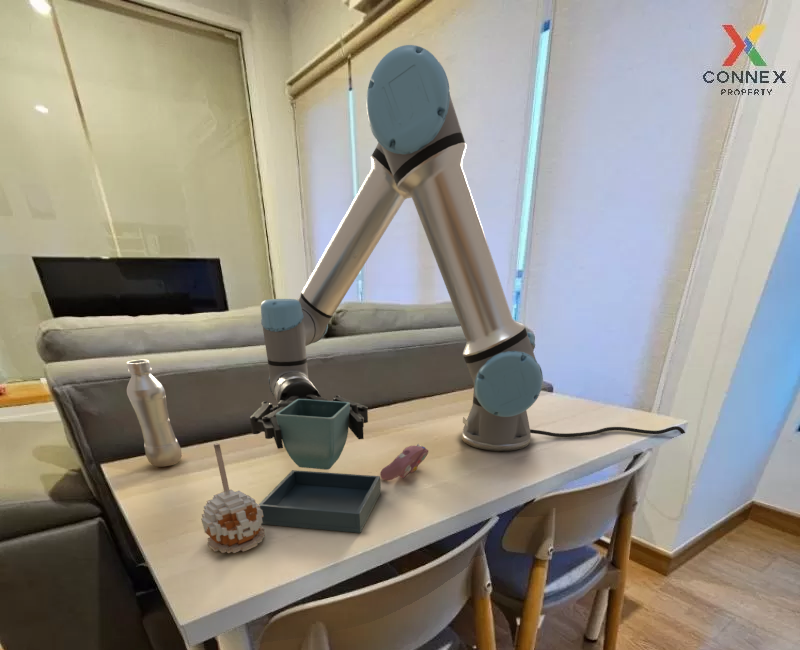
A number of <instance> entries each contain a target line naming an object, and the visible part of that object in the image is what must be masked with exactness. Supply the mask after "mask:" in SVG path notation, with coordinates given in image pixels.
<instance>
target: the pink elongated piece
mask: <svg viewBox="0 0 800 650" xmlns="http://www.w3.org/2000/svg"><path fill="white" fill-rule="evenodd" d="M428 454H429V449H428V448H426V447H425V446H423V445H420V444H419V443H417V444H416V445H409V446H407V447H405V448H404V449H403V450H402V452H401V453H400V454H398V455H397V456H396V457H395V458H394V459H393V460H392V461H391V462H390V463H389V464H388V465H386V466H384V467H383V468H382V469H381V471H380V473H379V476H380V479H382V480H383V481H391V480H395V479H396V478H398V477H400V478H401V479H405V478H406V477H407V475H409V473H411V474H412V473H414V472H415V471H417V469H418V467H419V466H420V464H421V463H422V462H424V460H425V459H426V457H428Z"/></svg>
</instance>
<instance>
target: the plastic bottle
mask: <svg viewBox="0 0 800 650" xmlns="http://www.w3.org/2000/svg"><path fill="white" fill-rule="evenodd" d="M126 365H127V368H128V371H127V372H128V374H130V375H131V376H130V379H129V381H128V383H127V387H126V395H127V397H128V399H129V403H130V404H131V406H132V409H133V410H134V413H135V415H136V418H137V420H138V423H139V427H140V429H141V434H142V439H143V443H144V445H143V447H144V453H145V458H146V460H147V461H148V462H149V464H151V465H152V466H153V467H157V468H161V467H162V468H163V467H170V466H173V465H176V464H178V463H179V462H180V461H181V459H182V457H183V456H182V448H181V445H180V443H179V441H178V439H177V437H176V434H175V431H174V429H173V426H172V424H171V419H170V415H169V410H168V403H167V396H166V389H165V387H164V386H163V384H162V383H161V382H160V381H159V380H158V379H157V378H156V377H155V376H154V375H153V374H152V372H153V369H152V366H151V363H150V361H149V360H148V359H135V360H130V361H127V362H126Z"/></svg>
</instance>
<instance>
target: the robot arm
mask: <svg viewBox="0 0 800 650" xmlns="http://www.w3.org/2000/svg"><path fill="white" fill-rule="evenodd" d="M450 93H451V92H450V84H449V78H448V76H447V73H446V70H445V69H444V67H443V65H442V63H441V62H440V61H439V60H438V59H437V57H435V55H434V54H433V53H431V52H430V51H429V50H428V49H426V48H424V47H423V46H419V45H415V44H405V45H401V46H398V47H395V48H393V49H392V50H390V51H389V52H388V53H385V55H384V56H383V57H382V58H381V59H380V60H379V62H378V63H377V64H376V66H375V68H374V70H373V72H372V74H371V76H370V80H369V81H368V86H367V91H366V101H365V102H366V105H365V106H366V114H367V120H368V124H369V128H370V130H371V133H372V135H373V137H374V139H376V141H377V144H376V146H375V148H374V150H373V152H372V154H371V155H370V163H371V167H370V170H369V171H368V174H367V175H366V177H365V179H364V181H363V182H362V184H361V186H360V188H359V190H358V192H357V193H356V195H355V196H354V198H353V200H352V202H351V204H350V206H349V207H348V209H347V211H346V213H345V214H344V216H343V218H342V219H341V221H340V223H339V225H338V227H337V229H336V230H335V232H334V234H333V235H332V237H331V240H330V241H329V242H328V245H327V246H326V248H325V249H324V252H323V253H322V255H321V256H320V258H319V260H318V262H317V264H316V266H315V268H314V270H313V271H312V273H311V274H310V275H309V277H308V280H307V282H306V283H305V285H304V287H303V289H302V291H301V293H300V295H299V296H298V298H297V299H295V298H272V299H271V298H270V299H264V300H263V301H262V302H261V303H260V314H261V315H260V316H261V320H260V321H261V323H260V324H261V326H262V332H263V338H264V343H265V344H264V345H265V352H266V358H267V369H268V374H269V376H268V384H269V386H268V387H269V390H270V393H271V395H272V396H273V397H274V400H275V401H276V405H273V403H272V402H269V401H267V400H263V401H262V402H261V406H260V407H259V408H258V409H257V410H256V411H255V412H254V413H253V414H252V415H251V416H249V422H250V428H251V433H252V435H259V434H261V432H264V438H265V439H266V440H271V439H273V440H274V442H275V445H276V448H277V450H280V449H284V444H283V441H282V436H281V429H280V427H279V425H278V422H277V418H276V413H277V412H279V411H281V410H282V409H284V408H285V407H286V406H288V405H289V404H291V403H292V402H293V401H295V400H297V399H311V400H323V401H329V400H328V399H327V398H324V397H322V396H321V394H320V392H319V390H318V389H317V388H316V386H315V385H314V384H313V383H312V381H311V380H310V379H309V370H308V369H309V368H308V359H307V357H308V356H307V346H309V345H312V344H315V343H317V342H319V341H321V340H322V339H323V337H324V336H325V335H326V334H327V332H328V328H329V323H330V322H331V320H332V318H333V316H334V314H335V313H336V311H337V310H338V308H339V306H340V305H341V303H342V301H343V300H344V298H345V297H346V295H347V293H349V292H348V291H349V290H350V288H351V287H352V285H353V284H354V282H355V281H356V279H357V277H358V276H359V274H360V272H361V271H362V269H363V268H364V266H365V264H366V263H367V261H368V259H369V258H370V257H371V255H372V254H373V251H374V250H375V248H376V247H377V246H378V244H379V242H380V241H381V239H382V237H383V235H385V232H386V230H387V229H388V227H390V224H391V223H392V221H393V220H394V218H395V216H396V215H397V213H398V211H399V210H400V208H401V207H402V205H403V204H404V202H405V201H406V200H407V199H412V201H413V204H414V207H415V210H416V212H417V215H418V217H419V220H420V222H421V226H422V227H423V231H424V232H425V236H426V239H427V241H428V243H429V246H430V249H431V251H432V255H433V256H434V259H435V261H436V265H437V267H438V270H439V272H440V275H441V277H442V280H443V282H444V285H445V288H446V290H447V293H448V295H449V298H450V301H451V303H452V306H453V309H454V312H455V314H456V316H457V319H458V322H459V324H460V327H461V330H462V332H463V335H464V338H465V340H466V343H465V346H464V349H463V350H462V351H463V352H462V357H463V359H464V362H465V364H466V367H467V369H468V372H469V375H470V377H471V380H472V383H473V394H472V405H471V408H470V410H469V413H468V416H467V418H466V417H464V416H463V417H462V423H463V425H464V426H463V428H462V435H461V436H462V437H461V440H462V441H463V442H464V443H465V444H466V445H468V446H469V447H472V448H475V449H479V450H484V451H493V452H509V451H517V450H522V449H523V448H526V447H528V446H530V443H531V436H532V435H531V434H536V435H543V436H547V437H555V438H577V437H586V436H593V435H594V436H595V435H598V434H602V433H605V432H611V431H612V432H613V431H621V432H622V431H623V432H632V433H638V434H645V435H662V434H666V433H668V432H672V431H678V432H679V433H680V434H686V431H685V430H684V429H683V427H681V426H678V425H677V426H676V425H673V426H669V427H667V428H663V429H658V430H653V429H652V430H650V429H648V430H647V429H641V428H634V427H626V426H608V427H603V428H599V429H596V430H592V431H583V432H582V431H581V432H568V433H563V432H562V433H560V432H551V431H545V430H539V429H532V428H531V427H530V421H529V416H528V411H527V410H528V409H530V408H531V407H532V406H533V405H534V404H535V402H536V401H537V399H538V398H539V396H540V394H541V391H542V388H543V380H544V377H543V376H544V375H543V370H542V367H541V365H540V363H538V361H537V358H536V355H535V353H534V351H535V349H536V335H535V334H534V332H532V331H531V332H530V331H527V328H526V325H525V324H524V323H521V322H519V321H516V320H515V319H514V318H513V315H512V312H511V310H510V307H509V303H508V301H507V297H506V294H505V292H504V288H503V286H502V282H501V280H500V277H499V274H498V270H497V268H496V265H495V262H494V259H493V256H492V252H491V250H490V246H489V243H488V240H487V237H486V235H485V231H484V228H483V225H482V222H481V219H480V217H479V214H478V211H477V207H476V205H475V201H474V199H473V195H472V193H471V189H470V187H469V183H468V180H467V177H466V174H465V171H464V169H463V159H464V157H465V153H466V149H467V144H466V141H465V138H464V135H463V131H462V128H461V125H460V122H459V119H458V115H457V113H456V110H455V106H454V103H453V100H452V97H451V94H450ZM332 401H340V402H349V403H350V413H349V427H348V429H349V430H350V431H351V432H352V434H354V436H355V437H356V438H357V439H358V440H364V427H365V424H367V423H369V415H368V414H369V412H368V406H366V405H363V404H361V403H358V402H354V401H352V400H349V399H347V398H343V397H342V396H341V395H339V394H337V395H334V396H333V398H332Z"/></svg>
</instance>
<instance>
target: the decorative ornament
mask: <svg viewBox="0 0 800 650" xmlns="http://www.w3.org/2000/svg"><path fill="white" fill-rule="evenodd" d="M213 448H214V453H215V457H216V462H217V466H218V470H219V475H220V480H221V484H222V489H223V491H221V492H219V493H216V494H213V497H212V499H208V500H207V501H206V503H205V505H203V513H202V514H201V518H200V520H201V523H202V527H203V531H204V533H205V534H206V536H209V537H208V538H207V546H208V547H209V548H210V549H211V550H213V552H215V553H216V552H218V551H219V552H221V553H222V554H225V553H228V554H230V553H233V554H235V553H238V552H240V551H242V552H246V551H248V550H251V549H253V548H255V547H258V544H260V543H262V542H263V540H264V539H265V537H266V534H265V528H264V527H262V524H261V523H263V521H262V517H264V516H263V511H262V510H261V509H260V505H259V503H257V502H256V499H254V498H253V497H252V496H250V495H248V494H246V493H244V492H242V491H241V490H237V491H235V490H233V489H230V487H229V481H228V478H227V473H226V468H225V463H224V458H223V454H222V449H221V444H220V443H214V444H213Z"/></svg>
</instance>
